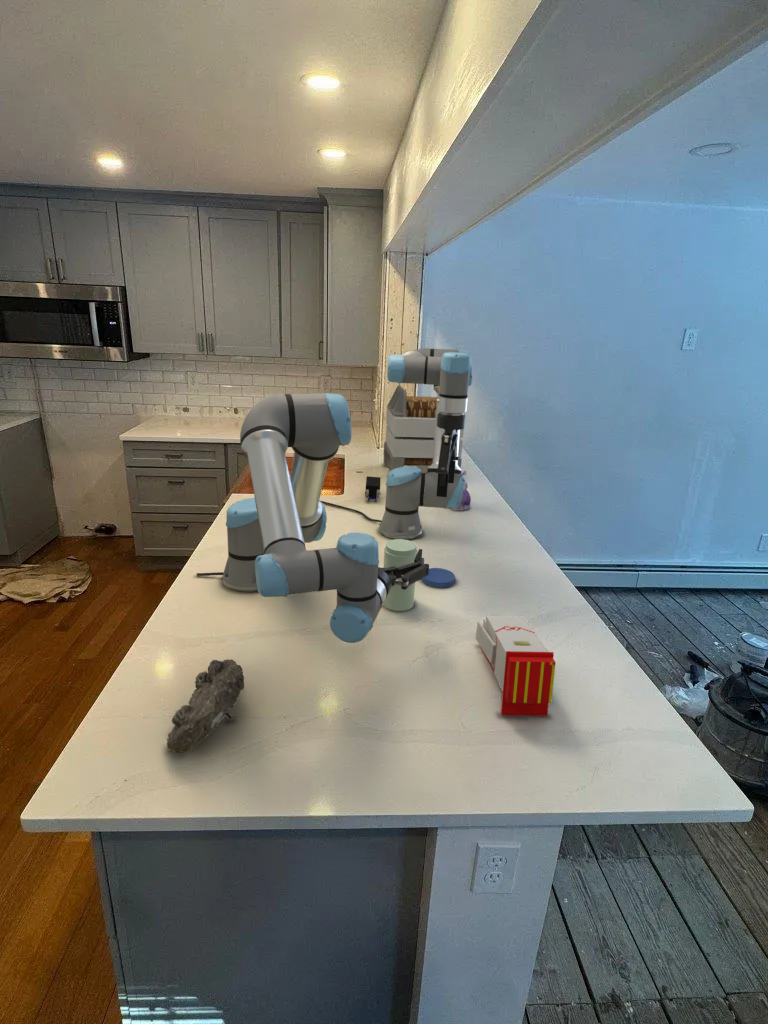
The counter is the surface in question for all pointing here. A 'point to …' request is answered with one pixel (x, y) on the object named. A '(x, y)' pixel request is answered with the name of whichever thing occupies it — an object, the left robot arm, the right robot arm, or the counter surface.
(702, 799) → the counter surface
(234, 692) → the fossil
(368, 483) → the figurine character
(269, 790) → the counter surface
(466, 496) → the figurine
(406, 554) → the jar
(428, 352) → the right robot arm
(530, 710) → the toy
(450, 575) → the lid
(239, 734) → the counter surface
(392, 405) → the grey boxy piece
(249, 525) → the left robot arm
